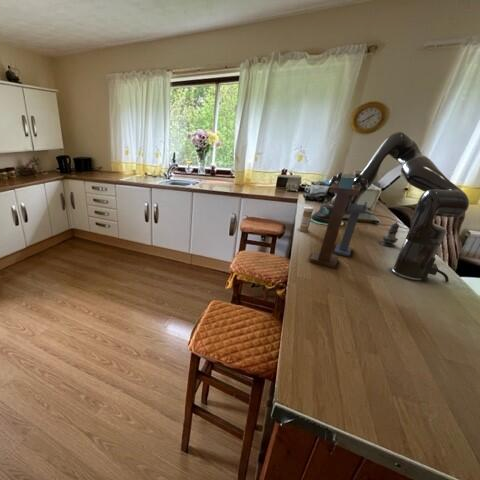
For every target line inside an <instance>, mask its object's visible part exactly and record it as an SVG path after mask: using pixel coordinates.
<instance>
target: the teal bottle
mask: <svg viewBox="0 0 480 480" xmlns="http://www.w3.org/2000/svg"><path fill="white" fill-rule="evenodd" d="M355 178H357V174H353V173H342V177H341V180H340V183H339V187H338V188H342V189H352V186H353V184H354V180H355Z"/></svg>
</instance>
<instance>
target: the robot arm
mask: <svg viewBox="0 0 480 480" xmlns="http://www.w3.org/2000/svg"><path fill="white" fill-rule="evenodd" d="M387 156H390V157H391V158H392V159H394V160H395V161H396V162H398V163H399V164H400V165H401V167H400V173H401V174H402V176H403V178H404V180H405V181H406V182H407V183H408V184H409V185H411V186H412V187H414V188H416V189H418V190H420V191H423V193H421V195H420V196H419V198H418V201H417V203H416V206H415V209H414V212H413V214H412V218H411V220H410V227H409V230H408V232H407V234H406V236H405V239H404V241H403V243H402V247H401V249H400V251H399V253H398V256H397V258H396V260H395V262H394V265H393V267H392V269H391V272H392V273H394V274H395V275H397V276H399V277H401V278H403V279H407V280H410V281H411V280H412V281H418V282H419V281H420V282H426V280H427V278H428V275H432V276H437V274H438V273H439V274H440V275H442V276H443V277H444V281H445V283H449V282H450V279H449V276H448V275H447V274H446V273H445V272H444V271H442V270H440V269H439V267H438V265H437V264H436V263H435V262H436V260H437V259H436V255H437V253H438V251H439V249H440V247H441V244H442V242H443V240H444V238H445V236H446V234H447V231H448V230H447V229H446V228H445V227H443V226H441V225H439V224H436V223H435V222H434V220H435V217H440V218H456V217H460V216H462V215H464V214H465V213H466V212H467V211H468V209H469V206H470V200H469V197H468V195H467V193H466V192H464V191H463V190H462V189H461V188H460V187H459V186H457V185H456V184H455V183H453V182H452V181H451V180H450V179H449V178H448V177H447V176H446V175H445V174H444V173H443V172H442V171H441V170H440V169H439V168H438V166H437V165H436V164H435V163H434V161H432V160H431V159H430V158H429V157H428V156H426V155H425V154H423V153H422V152H421V150H420V148H419V145H418V143H417V142H416V141H415V140H414V139H413V138H412V137H410V136H409V135H408V134H406V133H405V132H403V131H396V132H394V133H392V134H390V135H389V136H387V137H386V138H385V139H384V141H382V143H381V144H380V145H379V147H378V148H377V150H376V151H375V153H373V156H372V157H371V158H370V160H369V161H368V163H367V164H366V166H365V168H364V169H362V171H361V172H360V173H358V174H357V176H356V177H355V180H354V184H353V185H354V186H361V188H360V191H359V194H358V196H356V195H350V196H349V199H348V203H347V206H346V209H345V212H344V214H347V213H349V212H348V211H347V209H348V206H349V203H350V200H352V202H351V204H358V203H359V201H360V199H361V197H363V194H365V193H366V191H367V190H368V189H370V187H371V186H372V185H373V184H374V183H375V181H376V179H377V177H378V175H379V172H380V168H381V166H382V165H383V162H384V160H385V159H386V158H387ZM342 176H343V172H339V173H338V174H337V175H332V177H331V178H330V180H329V182H328V187H331V186H332V185H333V183H335V184H339V183H340V180H341V177H342ZM336 195H337V193H335V195H334V196H333V197H332V198H331V201H330V203H331V206H333V205H334V202H335V198H336Z"/></svg>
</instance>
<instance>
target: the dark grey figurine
mask: <svg viewBox="0 0 480 480" xmlns="http://www.w3.org/2000/svg"><path fill="white" fill-rule="evenodd" d="M399 227H400V225H399V224H398V222H397V221H395V223H392V224H391V225H390V228H389V229H388V232H387V234H385V235H382V242H380V244H381V245H382V246H385V247H389V248H395V244H396V243H397V242H398V240H399V239H398V238H397V233H398V232H399V231H398V230H399Z"/></svg>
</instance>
